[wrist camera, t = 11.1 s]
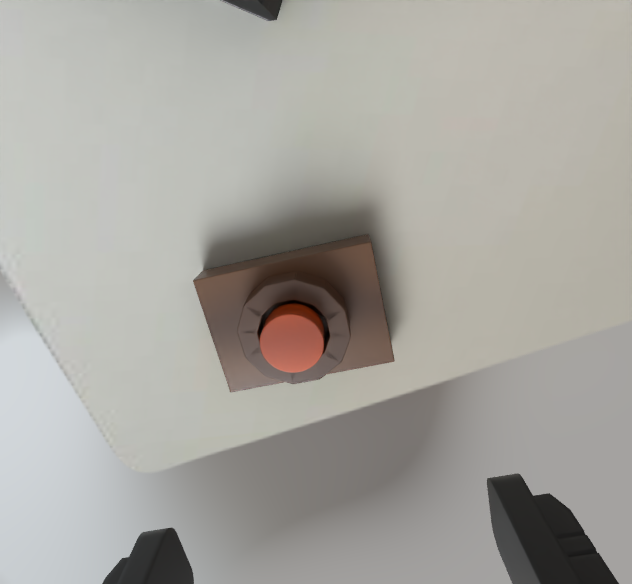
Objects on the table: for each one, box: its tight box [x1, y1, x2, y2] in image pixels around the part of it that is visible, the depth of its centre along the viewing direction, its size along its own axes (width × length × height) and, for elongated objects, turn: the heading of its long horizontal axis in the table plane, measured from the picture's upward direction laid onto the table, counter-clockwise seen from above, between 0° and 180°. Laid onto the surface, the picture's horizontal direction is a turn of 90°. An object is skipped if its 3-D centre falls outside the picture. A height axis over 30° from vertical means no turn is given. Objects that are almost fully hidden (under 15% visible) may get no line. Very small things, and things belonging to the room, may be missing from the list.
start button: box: [260, 303, 325, 373], centre depth 26 cm, size 4×4×2 cm
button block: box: [193, 234, 394, 392], centre depth 28 cm, size 8×11×4 cm
